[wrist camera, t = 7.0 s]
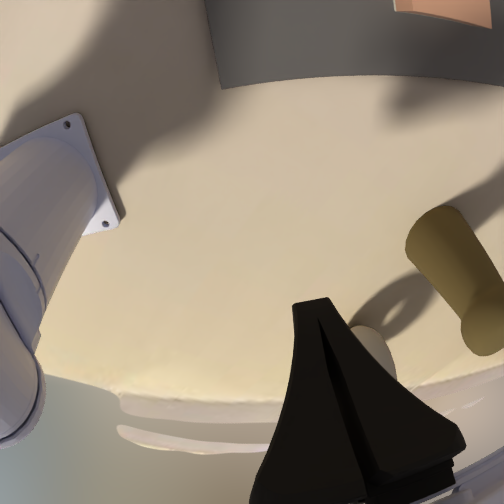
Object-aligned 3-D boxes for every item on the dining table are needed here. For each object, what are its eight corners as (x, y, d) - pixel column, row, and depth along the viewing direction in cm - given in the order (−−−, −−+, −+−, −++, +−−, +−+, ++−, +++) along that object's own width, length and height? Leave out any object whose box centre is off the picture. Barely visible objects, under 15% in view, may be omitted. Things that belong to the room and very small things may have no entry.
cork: (391, 249, 23) (456, 365, 15) (441, 192, 20) (531, 295, 12) (429, 273, 26) (485, 372, 17) (472, 226, 23) (545, 318, 14)
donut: (357, 359, 33) (381, 437, 25) (328, 364, 33) (348, 446, 25) (375, 299, 27) (416, 395, 19) (340, 305, 27) (374, 407, 19)
